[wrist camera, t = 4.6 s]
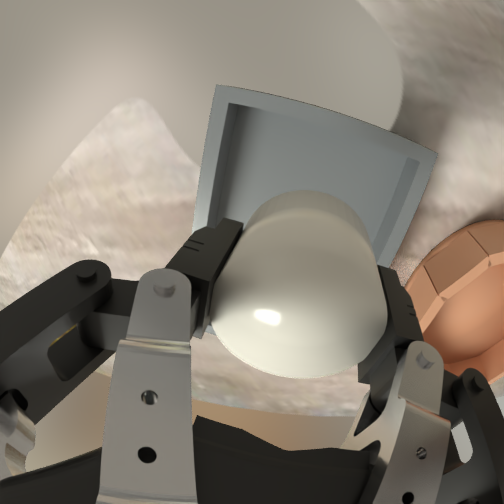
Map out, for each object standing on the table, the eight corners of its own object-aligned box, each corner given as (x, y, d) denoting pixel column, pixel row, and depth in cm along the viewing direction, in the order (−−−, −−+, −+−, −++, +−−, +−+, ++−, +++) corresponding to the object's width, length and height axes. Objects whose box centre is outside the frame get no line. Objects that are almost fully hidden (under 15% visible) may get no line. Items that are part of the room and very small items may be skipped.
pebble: (257, 173, 10) (222, 219, 7) (390, 215, 10) (421, 280, 6) (232, 283, 13) (201, 352, 9) (340, 315, 12) (341, 390, 9)
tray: (231, 86, 18) (216, 84, 15) (419, 144, 17) (438, 153, 14) (196, 300, 28) (183, 324, 26) (329, 339, 28) (329, 366, 25)
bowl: (452, 188, 18) (482, 212, 14) (557, 253, 17) (580, 279, 12) (364, 348, 27) (367, 386, 23) (476, 368, 26) (486, 398, 22)
